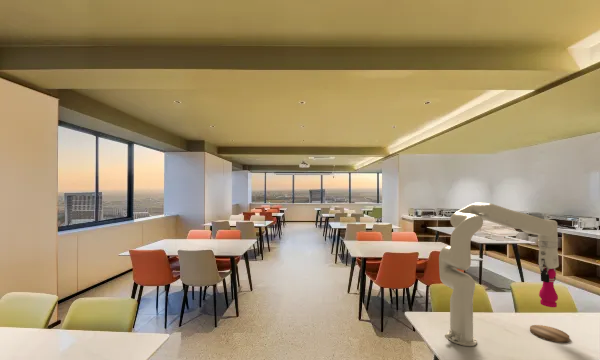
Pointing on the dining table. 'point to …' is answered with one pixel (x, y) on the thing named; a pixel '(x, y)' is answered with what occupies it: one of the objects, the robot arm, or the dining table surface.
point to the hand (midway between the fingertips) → (548, 280)
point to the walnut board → (549, 333)
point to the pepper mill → (549, 291)
